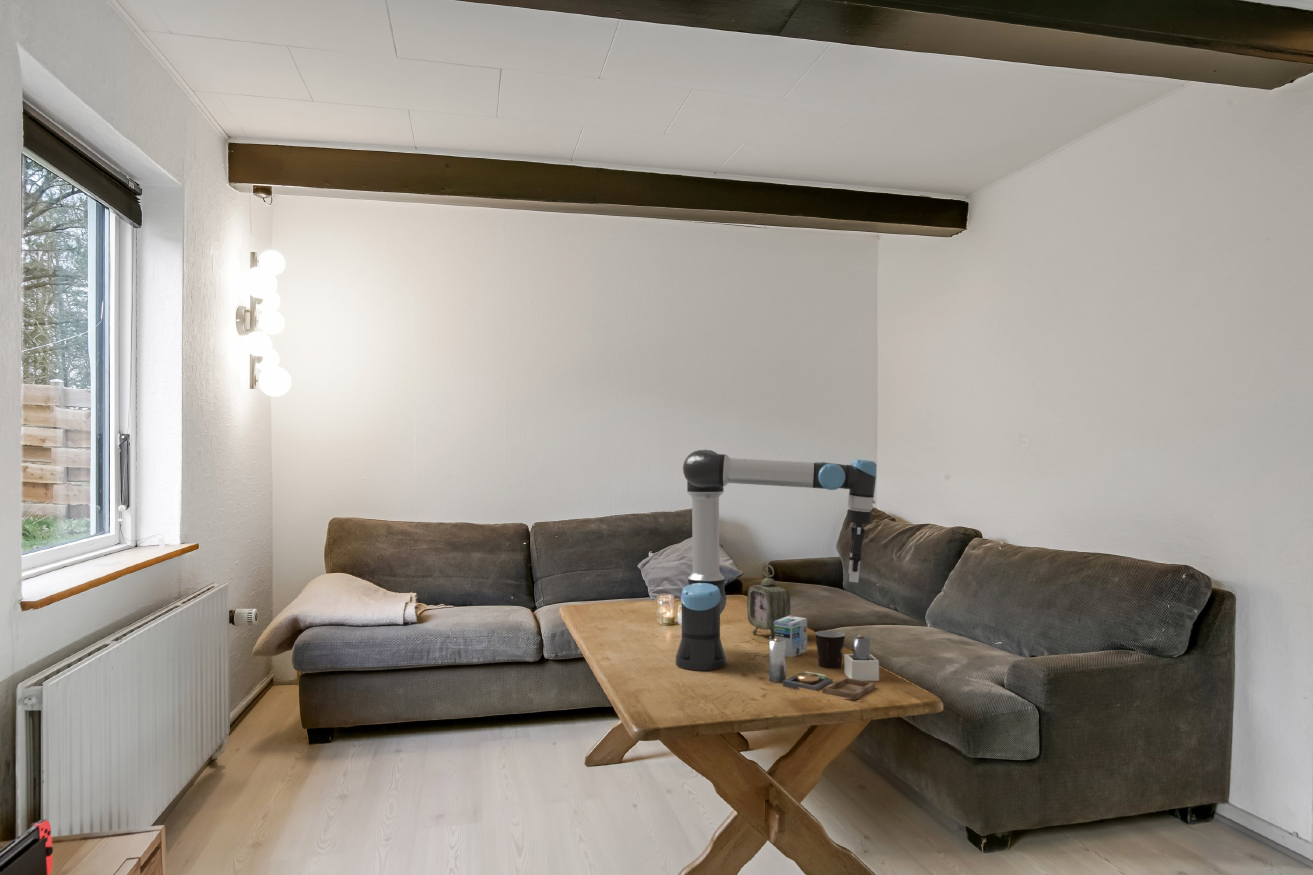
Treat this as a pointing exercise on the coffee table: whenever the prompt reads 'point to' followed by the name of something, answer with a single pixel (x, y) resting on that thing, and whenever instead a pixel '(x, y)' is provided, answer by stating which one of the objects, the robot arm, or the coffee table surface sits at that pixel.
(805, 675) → the brown flat disc
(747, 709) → the coffee table surface
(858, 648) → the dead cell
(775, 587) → the tabletop clock
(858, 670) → the white square box
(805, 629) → the light bulb box
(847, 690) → the brown wooden tray
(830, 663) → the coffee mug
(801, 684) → the base
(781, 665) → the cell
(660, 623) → the coffee table surface
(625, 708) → the coffee table surface
